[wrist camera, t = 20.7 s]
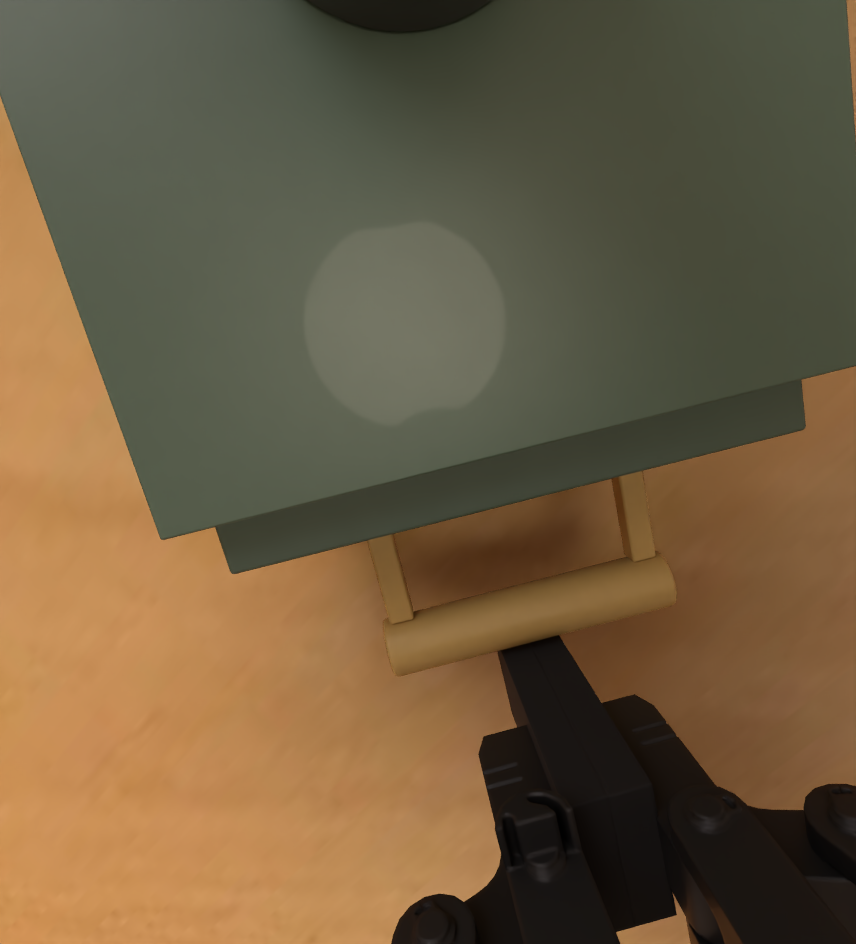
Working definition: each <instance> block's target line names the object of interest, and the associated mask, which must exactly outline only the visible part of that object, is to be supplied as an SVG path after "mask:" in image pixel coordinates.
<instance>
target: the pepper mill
mask: <svg viewBox="0 0 856 944" xmlns="http://www.w3.org/2000/svg"><path fill="white" fill-rule="evenodd" d="M308 1H310V2H311V3H313V4H314V5H316V6H318V7H319V8H321V9H322V10H324V11H326V12H327V13H329V14H332V15H334V16H336V17H338V18H341V19H343V20H345V21H347V22H350V23H353V24H357V25H360V26H363V27H367V28H371V29H378V30H385V31H417V30H423V29H430V28H434V27H438V26H441V25H444V24H447V23H450V22H454V21H456V20H458V19H460V18H462V17H464V16H466V15H468V14H470V13H472V12H474V11H476V10H477V9H479V8H480V7H482V6H483V5H485V4H486V3H488V2H489V1H491V0H308Z"/></svg>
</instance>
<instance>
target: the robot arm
mask: <svg viewBox="0 0 856 944" xmlns="http://www.w3.org/2000/svg"><path fill="white" fill-rule="evenodd" d="M497 652H498V656H499V660H500V664H501V669H502V673H503V677H504V681H505V685H506V689H507V694H508V698H509V702H510V706H511V710H512V714H513V717H514V720H515V722H516V725H517V728H513V729H510V730H506V731H502V732H498V733H495V734H491V735H487V736H484V737H483V741H482V744H481V747H480V751H479V758H480V763H481V767H482V771H483V775H484V779H485V783H486V788H487V792H488V796H489V800H490V804H491V808H492V813H493V817H494V821H495V831H496V835H497V839H498V843H499V847H500V850H501V859H500V865H499V867H498V870H497V872H496V874H495V876H494V877H493V879H492V880H491V881H490V882H489V884H488V885H487V886H486V887H484V888H483V889H482V890H481V891H480V892H478V893H477V894H476V895H474V896H472V897H471V898H469V899H468V900H466V901H465V902H463V901H461V900H460V899H458V898H457V897H455V896H452V895H445V894H436V895H432V896H428V897H424V898H422V899H421V900H419V901H418V902H416V903H414V904H413V905H411V906H410V907H409V908H408V910H407V911H406V912H405V913H404V914H403V916H402V917H401V918H400V919H399V922H398V924H397V927H396V929H395V932H394V934H393V939H392V943H391V944H620V942H619V939H618V937H617V934H616V932H618V931H621V930H625V929H628V928H632V927H635V926H639V925H642V924H646V923H650V922H653V921H657V920H660V919H664V918H668V917H671V916H675V915H677V914H676V908H675V903H674V898H673V894H674V896H675V897H676V899H677V901H678V903H679V905H680V907H681V909H682V910H683V912H684V914H685V916H686V921H687V926H688V931H689V937H690V942H691V944H856V786H852V785H848V784H827V785H824V786H821V787H817V788H814V789H813V790H812V791H811V792H810V793H809V794H808V795H807V796H806V797H805V803H804V810H769V809H759V808H755V807H751V806H747V805H746V804H745V803H744V802H743V801H742V800H741V799H740V798H739V797H738V796H736V795H735V794H734V793H732V792H729V791H727V790H725V789H723V788H721V787H717V786H716V785H715V784H714V783H713V782H712V780H711V779H710V778H709V776H708V775H707V774H706V772H705V771H704V770H703V769H702V767H701V766H700V765H699V763H698V762H697V761H696V760H695V758H694V757H693V756H692V754H691V753H690V752H689V750H688V749H687V748H686V747H685V745H684V744H683V743H682V741H681V740H680V739H679V737H677V736H676V734H675V732H674V731H673V730H672V728H671V727H670V726H669V725H668V724H667V723H666V721H665V719H664V718H663V717H662V715H661V714H660V713H659V712H658V710H657V709H656V708H655V706H654V705H652V704H650V703H649V702H647V701H645V700H644V699H642V698H640V697H638V696H637V695H635V694H634V695H630V696H626V697H623V698H619V699H615V700H612V701H608V702H604V703H601V702H600V700H599V698H598V697H597V695H596V694H595V692H594V690H593V689H592V687H591V686H590V684H589V682H588V681H587V679H586V678H585V676H584V675H583V673H582V671H581V670H580V668H579V667H578V665H577V663H576V662H575V660H574V659H573V657H572V655H571V654H570V652H569V651H568V649H567V647H566V646H565V644H564V643H563V641H562V639H561V638H560V636H559V635H557V636H554V637H550V638H546V639H542V640H538V641H534V642H531V643H527V644H523V645H519V646H515V647H511V648H507V649H504V650H500V651H497Z"/></svg>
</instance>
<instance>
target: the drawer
mask: <svg viewBox="0 0 856 944" xmlns="http://www.w3.org/2000/svg"><path fill="white" fill-rule="evenodd" d="M805 426H806V424H805V413H804V403H803V392H802V381H801V380H798V381H794V382H790V383H786V384H782V385H778V386H774V387H770V388H766V389H762V390H758V391H754V392H750V393H746V394H742V395H738V396H734V397H730V398H726V399H722V400H718V401H714V402H710V403H706V404H702V405H698V406H694V407H691V408H687V409H683V410H679V411H675V412H671V413H667V414H663V415H659V416H655V417H651V418H647V419H643V420H639V421H635V422H631V423H627V424H623V425H619V426H615V427H611V428H607V429H603V430H599V431H595V432H591V433H587V434H583V435H579V436H575V437H571V438H567V439H563V440H559V441H555V442H551V443H547V444H543V445H539V446H535V447H531V448H527V449H523V450H519V451H515V452H511V453H507V454H504V455H500V456H496V457H492V458H488V459H484V460H480V461H476V462H472V463H468V464H464V465H460V466H456V467H452V468H448V469H444V470H440V471H436V472H432V473H428V474H424V475H420V476H416V477H412V478H408V479H404V480H400V481H396V482H392V483H388V484H384V485H380V486H376V487H372V488H368V489H364V490H360V491H356V492H352V493H348V494H344V495H340V496H336V497H332V498H328V499H324V500H320V501H316V502H313V503H309V504H305V505H301V506H297V507H293V508H289V509H285V510H281V511H277V512H273V513H269V514H265V515H261V516H257V517H253V518H249V519H245V520H241V521H237V522H233V523H229V524H225V525H221V526H217V527H215V528H216V531H217V534H218V537H219V540H220V543H221V546H222V549H223V552H224V554H225V557H226V560H227V563H228V566H229V569H230V572H231V573H232V574H237V573H241V572H245V571H249V570H253V569H257V568H261V567H265V566H269V565H273V564H277V563H281V562H285V561H288V560H292V559H296V558H300V557H304V556H308V555H312V554H316V553H320V552H324V551H328V550H332V549H336V548H340V547H344V546H348V545H352V544H356V543H359V542H363V541H367V543H368V546H369V550H370V553H371V557H372V561H373V564H374V568H375V572H376V575H377V579H378V582H379V586H380V590H381V593H382V597H383V600H384V604H385V608H386V611H387V615H388V618H387V619H385V620H384V621H383V632H384V639H385V644H386V649H387V653H388V657H389V661H390V664H391V667H392V670H393V672H394V674H395V676H398V677H400V676H403V675H407V674H411V673H415V672H419V671H423V670H427V669H430V668H434V667H438V666H442V665H446V664H450V663H453V662H457V661H461V660H465V659H469V658H473V657H477V656H480V655H484V654H488V653H492V652H496V651H500V650H504V649H507V648H511V647H515V646H519V645H523V644H527V643H531V642H534V641H538V640H542V639H546V638H550V637H554V636H557V635H561V634H565V633H569V632H573V631H577V630H581V629H584V628H588V627H592V626H596V625H600V624H604V623H608V622H611V621H615V620H619V619H623V618H627V617H631V616H635V615H638V614H642V613H646V612H650V611H654V610H658V609H662V608H665V607H669V606H672V605H673V604H675V602H676V599H677V590H676V584H675V580H674V577H673V574H672V571H671V569H670V567H669V565H668V563H667V561H666V560H665V558H664V557H663V556H662V555H661V554H660V553H659V552H658V551H655V546H654V540H653V533H652V527H651V521H650V515H649V508H648V502H647V496H646V490H645V483H644V477H643V471H644V470H647V469H651V468H655V467H659V466H663V465H667V464H671V463H675V462H679V461H683V460H687V459H691V458H695V457H699V456H703V455H707V454H711V453H715V452H718V451H722V450H726V449H730V448H734V447H738V446H742V445H746V444H750V443H754V442H758V441H762V440H766V439H770V438H774V437H778V436H782V435H786V434H789V433H793V432H797V431H801V430H803V429H805ZM608 479H612V485H613V491H614V497H615V503H616V508H617V514H618V520H619V526H620V532H621V537H622V543H623V549H624V554H625V555H626V556H627V557H624V558H620V559H616V560H613V561H609V562H605V563H601V564H597V565H593V566H589V567H585V568H581V569H577V570H574V571H570V572H566V573H562V574H558V575H554V576H550V577H546V578H542V579H539V580H535V581H531V582H527V583H523V584H519V585H515V586H511V587H507V588H504V589H500V590H496V591H492V592H488V593H484V594H480V595H476V596H472V597H469V598H465V599H461V600H457V601H453V602H449V603H445V604H441V605H437V606H434V607H430V608H426V609H422V610H418V611H414V612H413V606H412V602H411V598H410V594H409V591H408V587H407V583H406V579H405V576H404V572H403V568H402V564H401V561H400V557H399V553H398V549H397V546H396V542H395V538H394V534H395V533H399V532H403V531H407V530H411V529H415V528H419V527H423V526H427V525H430V524H434V523H438V522H442V521H446V520H450V519H454V518H458V517H462V516H466V515H470V514H474V513H478V512H482V511H486V510H490V509H494V508H498V507H502V506H505V505H509V504H513V503H517V502H521V501H525V500H529V499H533V498H537V497H541V496H545V495H549V494H553V493H557V492H561V491H565V490H569V489H573V488H576V487H580V486H584V485H588V484H592V483H596V482H600V481H604V480H608Z"/></svg>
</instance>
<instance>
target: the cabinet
mask: <svg viewBox="0 0 856 944" xmlns="http://www.w3.org/2000/svg"><path fill="white" fill-rule="evenodd" d="M0 96H1V99H2V102H3V105H4V107H5V110H6V113H7V116H8V118H9V121H10V124H11V127H12V130H13V132H14V135H15V138H16V141H17V143H18V146H19V149H20V152H21V154H22V157H23V160H24V163H25V165H26V168H27V171H28V174H29V176H30V179H31V182H32V185H33V188H34V190H35V193H36V196H37V199H38V201H39V204H40V207H41V210H42V212H43V215H44V218H45V221H46V223H47V226H48V229H49V232H50V235H51V237H52V240H53V243H54V246H55V248H56V251H57V254H58V257H59V259H60V262H61V265H62V268H63V270H64V273H65V276H66V279H67V281H68V284H69V287H70V290H71V293H72V295H73V298H74V301H75V304H76V306H77V309H78V312H79V315H80V317H81V320H82V323H83V326H84V328H85V331H86V334H87V337H88V340H89V342H90V345H91V348H92V351H93V353H94V356H95V359H96V362H97V364H98V367H99V370H100V373H101V375H102V378H103V381H104V384H105V386H106V389H107V392H108V395H109V398H110V400H111V403H112V406H113V409H114V411H115V414H116V417H117V420H118V422H119V425H120V428H121V431H122V433H123V436H124V439H125V442H126V445H127V447H128V450H129V453H130V456H131V458H132V461H133V464H134V467H135V469H136V472H137V475H138V478H139V480H140V483H141V486H142V489H143V491H144V494H145V497H146V500H147V503H148V505H149V508H150V511H151V514H152V516H153V519H154V522H155V525H156V527H157V530H158V533H159V536H160V538H161V540H165V539H169V538H173V537H177V536H181V535H185V534H189V533H193V532H197V531H201V530H205V529H209V528H213V527H217V526H221V525H225V524H229V523H233V522H237V521H241V520H245V519H249V518H253V517H257V516H261V515H265V514H269V513H273V512H277V511H281V510H285V509H289V508H293V507H297V506H301V505H305V504H309V503H313V502H316V501H320V500H324V499H328V498H332V497H336V496H340V495H344V494H348V493H352V492H356V491H360V490H364V489H368V488H372V487H376V486H380V485H384V484H388V483H392V482H396V481H400V480H404V479H408V478H412V477H416V476H420V475H424V474H428V473H432V472H436V471H440V470H444V469H448V468H452V467H456V466H460V465H464V464H468V463H472V462H476V461H480V460H484V459H488V458H492V457H496V456H500V455H504V454H507V453H511V452H515V451H519V450H523V449H527V448H531V447H535V446H539V445H543V444H547V443H551V442H555V441H559V440H563V439H567V438H571V437H575V436H579V435H583V434H587V433H591V432H595V431H599V430H603V429H607V428H611V427H615V426H619V425H623V424H627V423H631V422H635V421H639V420H643V419H647V418H651V417H655V416H659V415H663V414H667V413H671V412H675V411H679V410H683V409H687V408H691V407H694V406H698V405H702V404H706V403H710V402H714V401H718V400H722V399H726V398H730V397H734V396H738V395H742V394H746V393H750V392H754V391H758V390H762V389H766V388H770V387H774V386H778V385H782V384H786V383H790V382H794V381H798V380H802V379H806V378H810V377H814V376H818V375H822V374H826V373H830V372H834V371H838V370H842V369H846V368H850V367H854V366H856V139H855V124H854V109H853V93H852V78H851V63H850V48H849V33H848V17H847V2H846V0H491V1H489V2H488V3H486V4H485V5H483V6H482V7H480V8H479V9H477V10H476V11H474V12H472V13H470V14H468V15H466V16H464V17H462V18H460V19H458V20H456V21H454V22H450V23H447V24H444V25H441V26H438V27H434V28H430V29H423V30H417V31H385V30H378V29H371V28H367V27H363V26H360V25H357V24H353V23H350V22H347V21H345V20H343V19H341V18H338V17H336V16H334V15H332V14H329V13H327V12H326V11H324V10H322V9H321V8H319V7H318V6H316V5H314V4H313V3H311V2H310V1H308V0H0Z"/></svg>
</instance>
